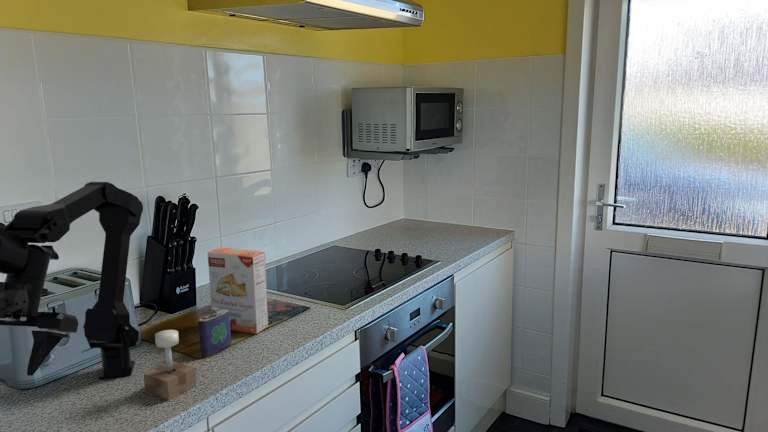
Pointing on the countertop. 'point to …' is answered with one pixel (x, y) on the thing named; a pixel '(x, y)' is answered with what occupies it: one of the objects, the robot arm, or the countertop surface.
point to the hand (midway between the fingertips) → (2, 374)
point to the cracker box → (239, 287)
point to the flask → (214, 332)
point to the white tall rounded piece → (167, 345)
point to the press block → (170, 380)
